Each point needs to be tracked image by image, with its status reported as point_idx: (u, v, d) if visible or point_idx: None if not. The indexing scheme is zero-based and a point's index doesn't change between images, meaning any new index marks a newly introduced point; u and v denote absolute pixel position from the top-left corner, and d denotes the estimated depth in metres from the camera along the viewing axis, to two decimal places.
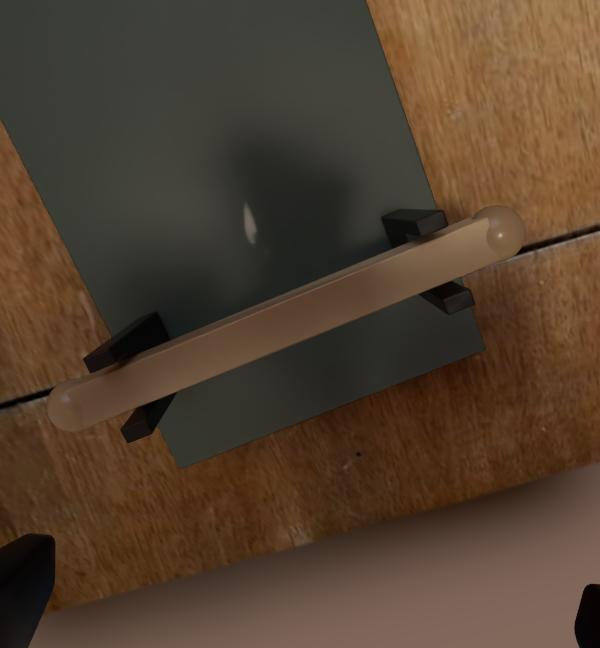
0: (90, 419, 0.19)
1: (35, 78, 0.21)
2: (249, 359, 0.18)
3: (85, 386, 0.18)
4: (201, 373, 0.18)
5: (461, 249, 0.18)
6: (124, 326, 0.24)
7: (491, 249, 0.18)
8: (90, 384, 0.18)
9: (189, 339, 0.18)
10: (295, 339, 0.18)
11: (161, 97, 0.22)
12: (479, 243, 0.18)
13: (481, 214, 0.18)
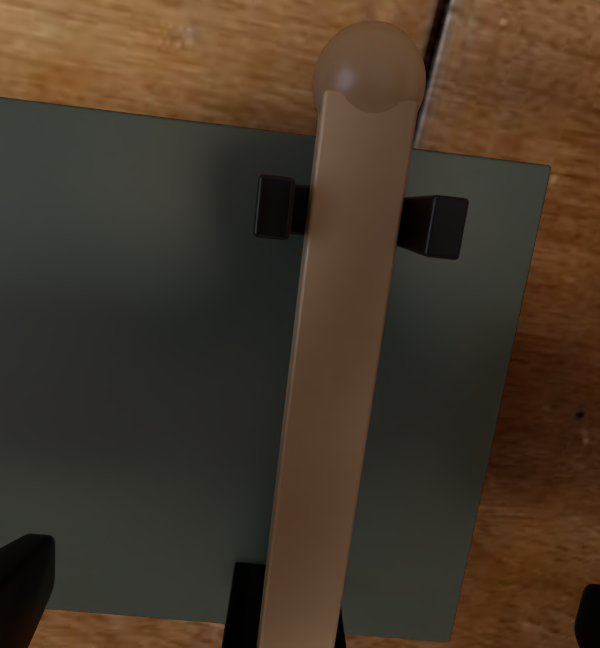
0: None
1: None
2: (338, 587, 0.11)
3: None
4: None
5: (356, 167, 0.09)
6: None
7: (387, 111, 0.09)
8: None
9: (259, 645, 0.11)
10: (348, 509, 0.10)
11: None
12: (363, 128, 0.09)
13: (317, 95, 0.09)
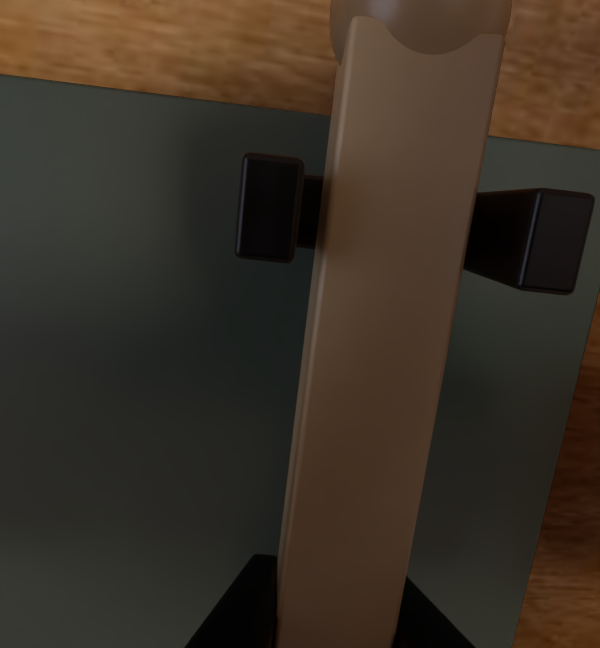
0: None
1: None
2: None
3: None
4: None
5: (401, 144, 0.05)
6: None
7: (455, 51, 0.05)
8: None
9: None
10: None
11: None
12: (415, 80, 0.05)
13: (339, 30, 0.06)
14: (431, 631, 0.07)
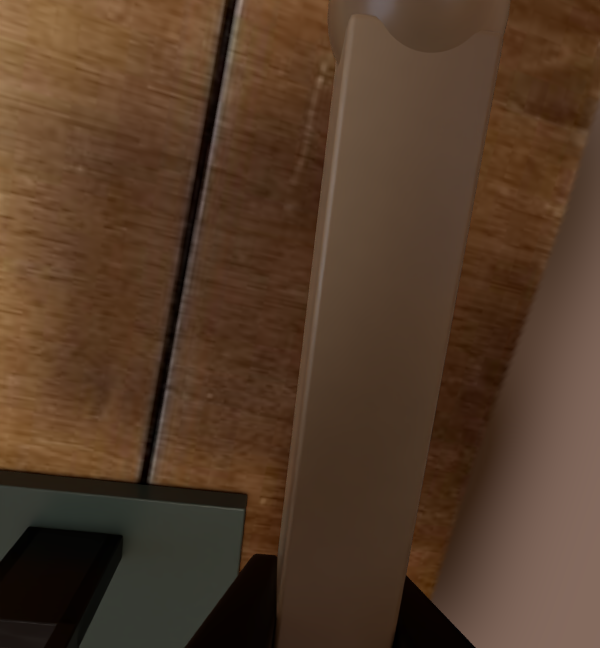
0: None
1: None
2: None
3: None
4: None
5: (400, 142, 0.05)
6: None
7: (453, 49, 0.05)
8: None
9: None
10: None
11: None
12: (413, 78, 0.05)
13: (337, 29, 0.06)
14: (431, 631, 0.07)
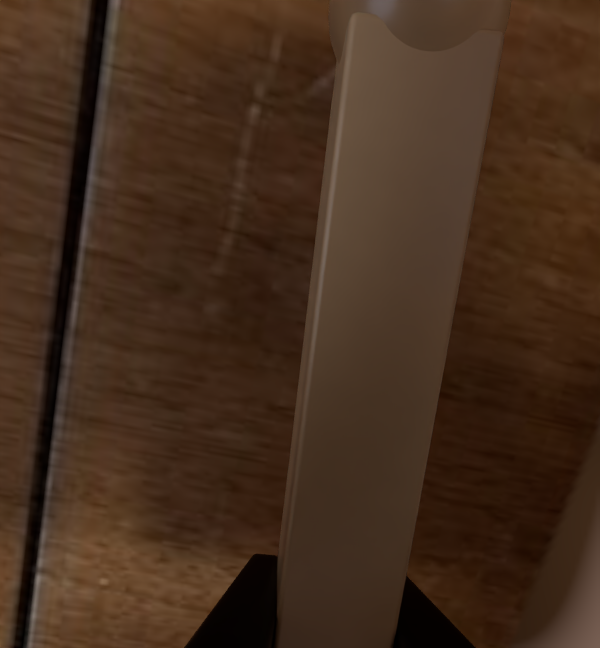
0: None
1: None
2: None
3: None
4: None
5: (401, 141, 0.05)
6: None
7: (454, 47, 0.05)
8: None
9: None
10: None
11: None
12: (415, 77, 0.05)
13: (337, 28, 0.06)
14: (431, 631, 0.07)
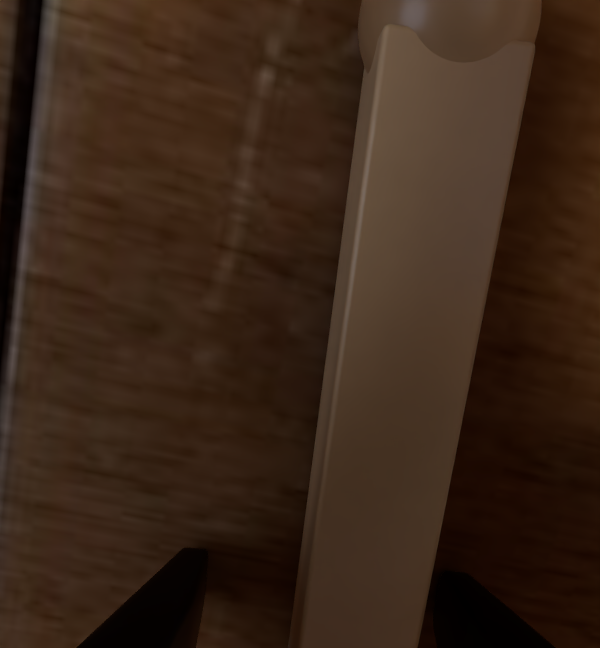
0: None
1: None
2: None
3: None
4: None
5: (431, 151, 0.05)
6: None
7: (485, 59, 0.05)
8: None
9: None
10: None
11: None
12: (446, 87, 0.05)
13: (369, 39, 0.06)
14: (517, 638, 0.07)
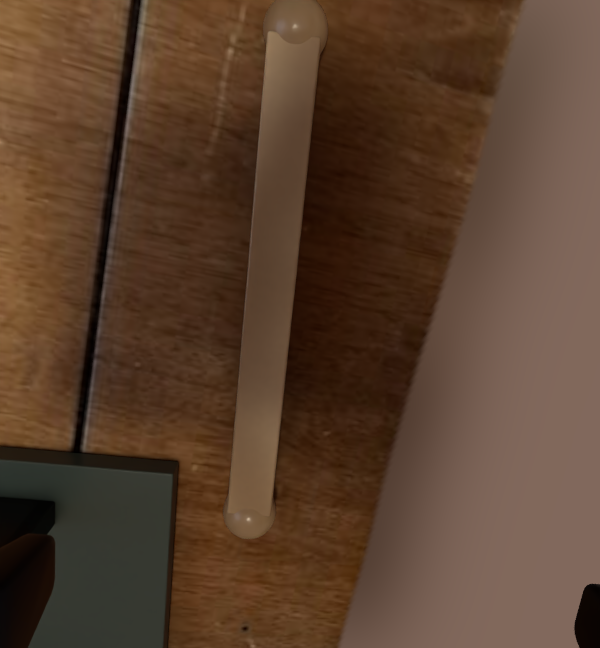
0: (264, 508, 0.19)
1: None
2: (285, 343, 0.17)
3: (232, 494, 0.18)
4: (275, 392, 0.18)
5: (286, 76, 0.15)
6: None
7: (303, 43, 0.15)
8: (232, 489, 0.18)
9: (238, 385, 0.18)
10: (289, 290, 0.17)
11: None
12: (290, 53, 0.15)
13: (265, 35, 0.16)
14: None
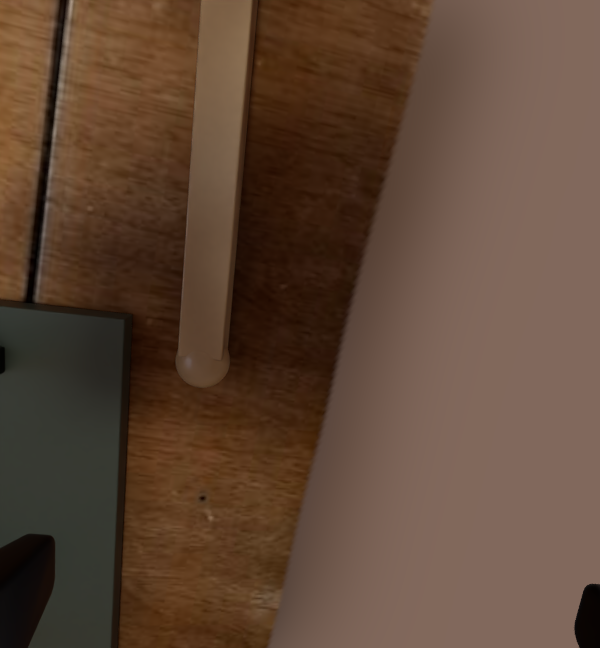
0: (215, 350, 0.18)
1: None
2: (234, 169, 0.17)
3: (182, 335, 0.18)
4: (224, 224, 0.17)
5: None
6: None
7: None
8: (182, 329, 0.18)
9: (187, 216, 0.17)
10: (238, 111, 0.17)
11: None
12: None
13: None
14: None
